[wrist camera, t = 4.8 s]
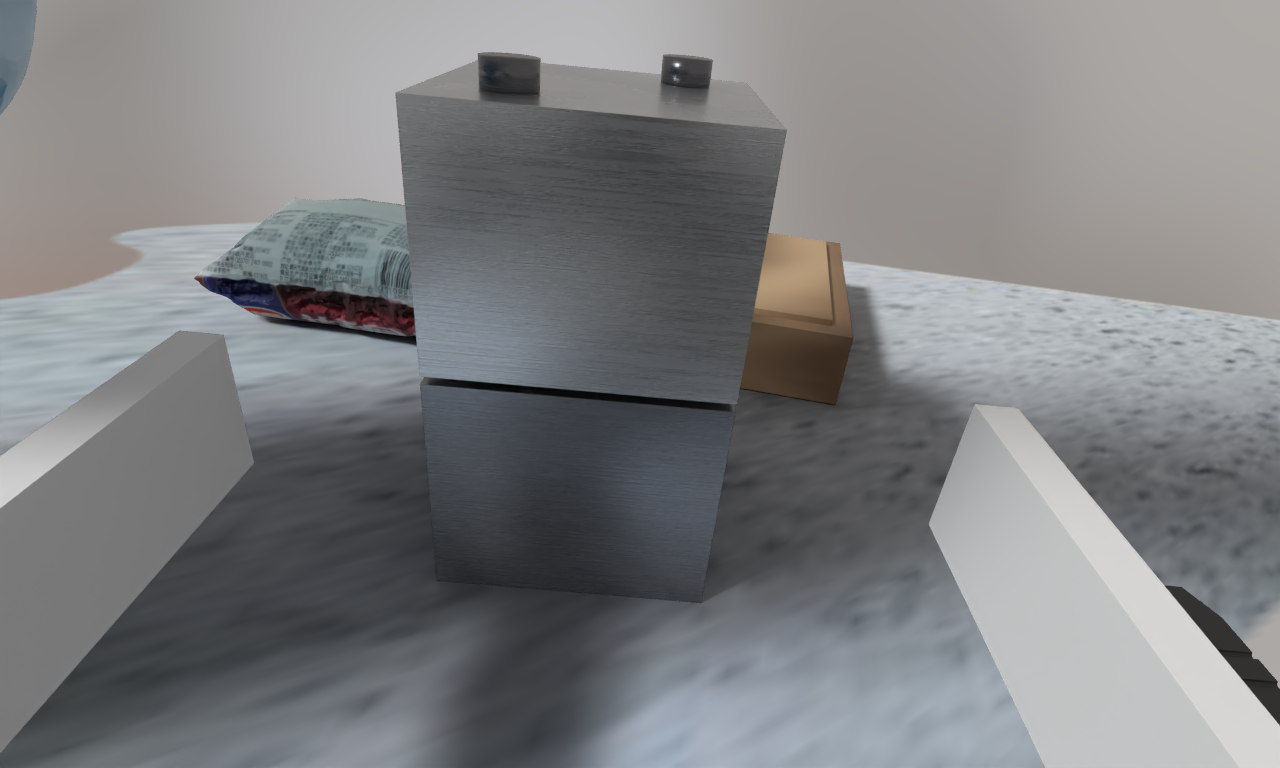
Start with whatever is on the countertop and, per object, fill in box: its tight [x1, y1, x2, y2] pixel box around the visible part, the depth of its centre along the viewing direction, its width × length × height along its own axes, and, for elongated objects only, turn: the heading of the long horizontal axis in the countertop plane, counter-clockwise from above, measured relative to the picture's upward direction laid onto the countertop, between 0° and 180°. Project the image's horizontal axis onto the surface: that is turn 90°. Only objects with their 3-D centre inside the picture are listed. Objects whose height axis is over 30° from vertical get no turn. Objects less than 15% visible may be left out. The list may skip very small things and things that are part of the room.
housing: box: [396, 52, 787, 603], centre depth 18 cm, size 7×7×13 cm
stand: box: [740, 233, 853, 405], centre depth 33 cm, size 12×12×3 cm
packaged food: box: [194, 198, 416, 336], centre depth 31 cm, size 9×12×5 cm
